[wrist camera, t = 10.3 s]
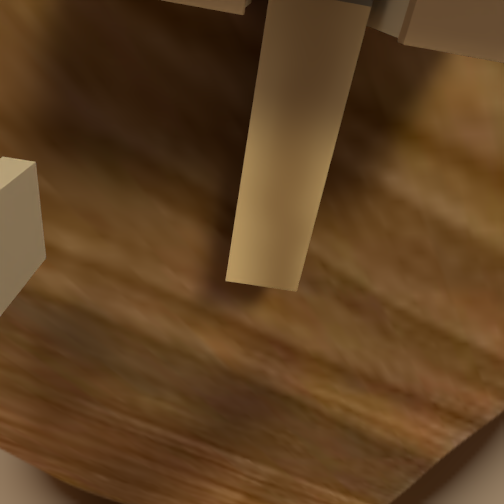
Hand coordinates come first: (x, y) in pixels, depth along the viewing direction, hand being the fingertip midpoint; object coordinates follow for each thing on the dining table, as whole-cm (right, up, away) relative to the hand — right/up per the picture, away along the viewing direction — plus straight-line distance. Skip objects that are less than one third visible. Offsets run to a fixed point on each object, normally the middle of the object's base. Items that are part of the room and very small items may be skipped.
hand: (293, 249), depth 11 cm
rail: (+1, +8, +14) cm, 16 cm away
